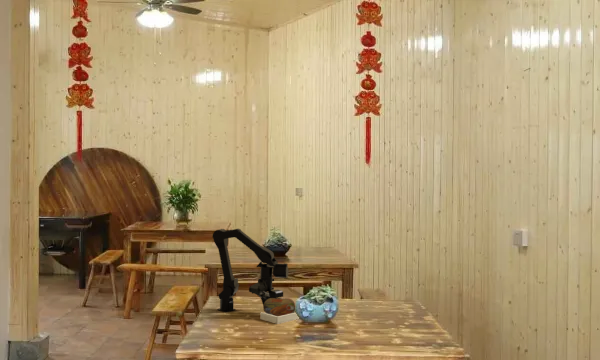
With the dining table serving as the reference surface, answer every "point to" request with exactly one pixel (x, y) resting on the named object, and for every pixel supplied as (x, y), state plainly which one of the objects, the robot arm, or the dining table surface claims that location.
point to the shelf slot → (278, 317)
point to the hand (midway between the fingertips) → (265, 309)
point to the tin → (279, 306)
